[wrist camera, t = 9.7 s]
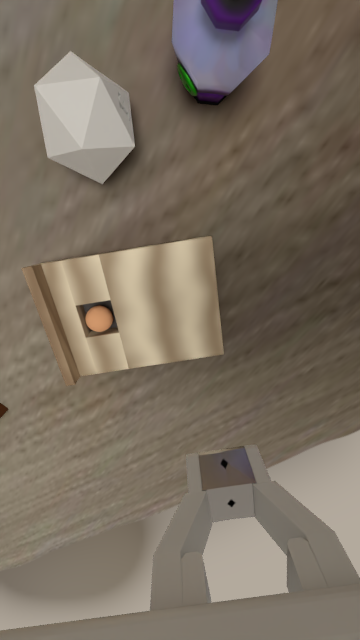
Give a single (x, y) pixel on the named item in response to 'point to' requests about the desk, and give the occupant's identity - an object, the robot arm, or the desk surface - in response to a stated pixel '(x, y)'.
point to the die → (84, 118)
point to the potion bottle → (220, 43)
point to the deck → (130, 307)
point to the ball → (99, 318)
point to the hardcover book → (2, 409)
